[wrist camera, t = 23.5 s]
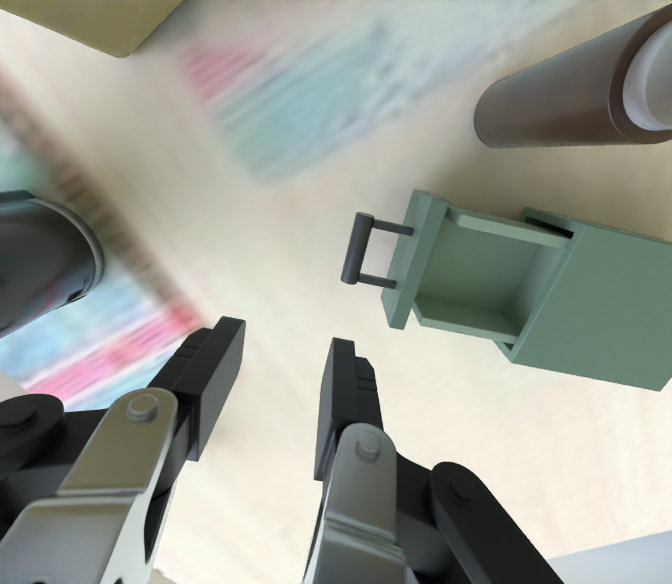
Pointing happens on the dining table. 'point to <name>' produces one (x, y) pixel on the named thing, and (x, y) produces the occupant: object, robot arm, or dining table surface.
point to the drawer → (459, 268)
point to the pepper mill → (588, 93)
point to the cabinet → (602, 307)
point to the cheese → (97, 20)
